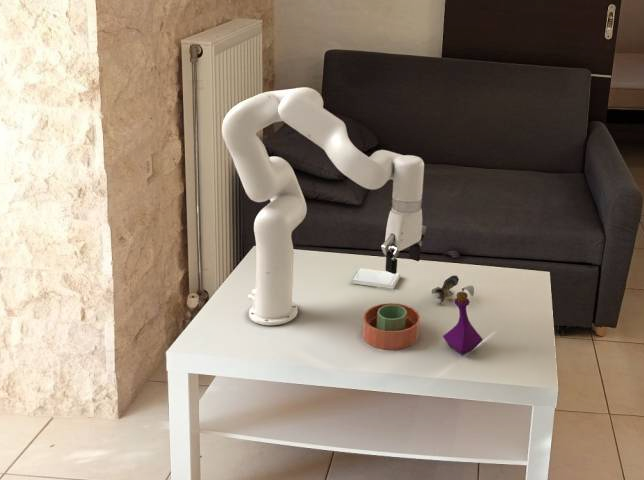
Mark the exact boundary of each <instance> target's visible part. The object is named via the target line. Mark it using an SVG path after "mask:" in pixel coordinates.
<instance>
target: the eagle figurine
mask: <svg viewBox="0 0 644 480" xmlns="http://www.w3.org/2000/svg"><path fill="white" fill-rule="evenodd" d="M459 280H460V278H459V277H458V275H456V274H455V275H454V274H453V275H451V276H449V277H447V278H446V279H445V280H444V281H443V284H442V286H441V287H440V286H436V287H434V288H432V289H431V294H436V293H437V294H438V295H439V296H437V297H436V298H437V299H438V300H440V301H439V306H440V305H442V304H443V303H444V302H445V300H446V299H447V298H448V299H450V300H451V301H453V298H452V296H453V295H454V292H452V291H451V290H452V289H453V288H454V287H456V286H457V285H458V283H459Z"/></svg>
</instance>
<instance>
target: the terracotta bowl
mask: <svg viewBox="0 0 644 480" xmlns="http://www.w3.org/2000/svg"><path fill="white" fill-rule="evenodd" d="M386 305H398V306H401V307H403V308H405V309H406V311H407V319H406V329H405V330H401V331H384V330H379V329H376V327H377V312H378V310H379V308H381V307H383V306H386ZM362 319H363V320H362V338H363V341H364V342H365V343H367V344H368V345H369V346H371V347H372V348H373V347H374V348H376V349H380V350H385V351H396V350H403V349H406V348H409V347H412V345H414V344H415V343H416V342H417V341H418V339H419V335H420V325H421V324H420V321H421V316H420V314H419V312H418V311H417V310H416V309H415V308H413V307H411V306H409V305H407V304H402V303H392V302H387V303H380V304H377V305H373V306H372V307H370V308H368V309H367V310H366V311H365V312H364V313H363V318H362Z"/></svg>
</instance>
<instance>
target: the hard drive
mask: <svg viewBox="0 0 644 480" xmlns="http://www.w3.org/2000/svg"><path fill="white" fill-rule="evenodd" d="M400 278H401V273H396V274H392V273H390V272H387V271H386V270H377V269H371V268H363V267H360V269H358V271H357V273H356V275H355V276H354V277H353V279H352V284H353V285H360V286H368V287H375V288H378V287H379V288H387V289H395V287H396V285H397V283H398V282H399V280H400Z"/></svg>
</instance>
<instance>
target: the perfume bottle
mask: <svg viewBox="0 0 644 480" xmlns="http://www.w3.org/2000/svg"><path fill="white" fill-rule="evenodd" d="M465 290H466V291H467V292H468V293H469V295H470V296H471V297H473V296H474V295H475V286H474V285H466V286H464V287H462V288H461V291H459V292H457V293H456V298H455V299H454V300H453V303H454V305H455V306H457V308H458V311H459V318H458V321H457V323H456V325H454V326H453V327H452V328H451V329H450V330H449V331H447V332H446V333H444V334H443V336H442V338H443V340H444V341H445V342H446V343H447V345H448V346H449V348H451V349H452V350H453V351H454V352H456V353H458V354H459V355H461V356H462V355H463V356H464V355H466V354H468V353H470V352H472V351H474V350H475V349H476V348H477V347H478V346H479V345H480V344H481V343H482V342H483V341H484V340H483V338H482V336H481V335H480V334H479V333H478V331H477V330H476V329H475V327H474V326H473V325H472V324H471V321H470V320H469V315H468V312H467V307H468V306H469V305H470V299H469V298H468V296H469V295H468V293H467V292H465Z"/></svg>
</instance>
